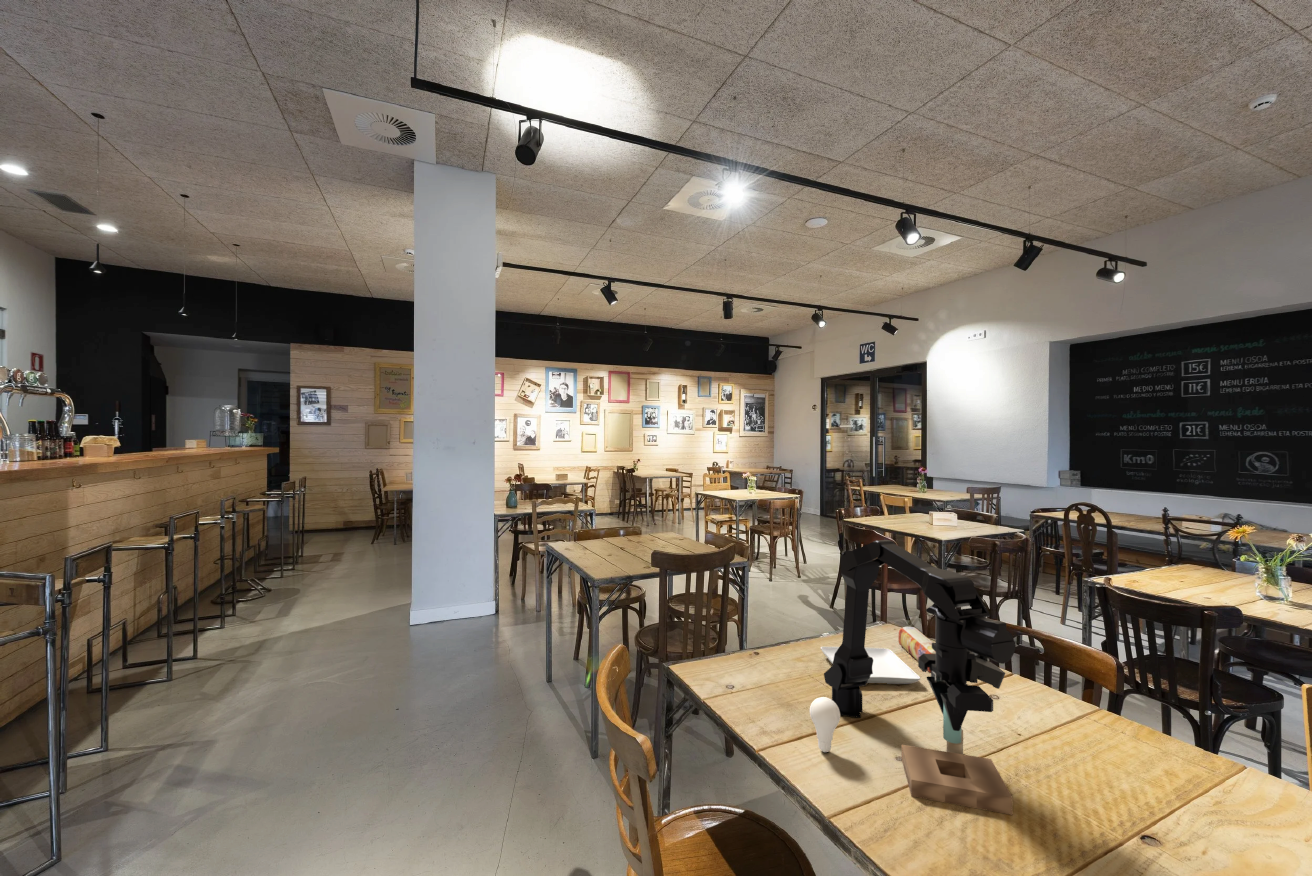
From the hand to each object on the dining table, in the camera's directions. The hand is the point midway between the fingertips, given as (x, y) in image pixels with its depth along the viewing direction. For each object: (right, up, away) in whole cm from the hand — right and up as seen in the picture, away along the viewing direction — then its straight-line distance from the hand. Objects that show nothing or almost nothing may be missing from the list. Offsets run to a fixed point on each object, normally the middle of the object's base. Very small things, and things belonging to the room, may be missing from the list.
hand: (952, 725), depth 100 cm
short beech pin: (+6, -11, +10) cm, 17 cm away
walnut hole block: (0, -11, 0) cm, 11 cm away
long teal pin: (0, -3, 0) cm, 2 cm away
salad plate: (+4, -13, +51) cm, 52 cm away
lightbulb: (-21, -11, +10) cm, 26 cm away
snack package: (+25, -13, +60) cm, 66 cm away
